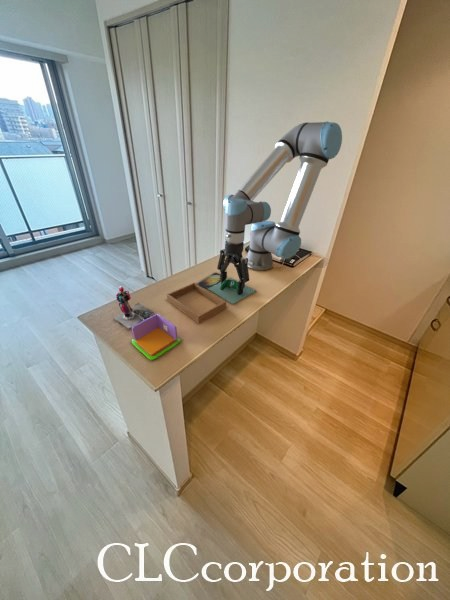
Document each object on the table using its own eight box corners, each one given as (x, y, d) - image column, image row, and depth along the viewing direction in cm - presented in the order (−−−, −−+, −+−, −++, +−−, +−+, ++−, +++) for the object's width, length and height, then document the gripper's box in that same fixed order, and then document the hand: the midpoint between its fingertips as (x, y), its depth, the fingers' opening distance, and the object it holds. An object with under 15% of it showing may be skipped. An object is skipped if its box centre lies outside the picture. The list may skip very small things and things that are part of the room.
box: (194, 288, 108) (194, 282, 106) (226, 307, 96) (226, 301, 94) (167, 300, 99) (166, 294, 97) (198, 323, 87) (198, 317, 86)
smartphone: (195, 284, 110) (215, 272, 120) (195, 285, 110) (215, 273, 120) (207, 289, 107) (226, 276, 117) (207, 290, 107) (226, 277, 117)
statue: (130, 332, 84) (116, 300, 74) (115, 321, 89) (100, 289, 79) (154, 314, 91) (144, 283, 81) (139, 305, 95) (128, 274, 85)
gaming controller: (240, 295, 106) (243, 282, 107) (239, 293, 103) (242, 280, 104) (221, 291, 109) (224, 278, 110) (219, 289, 105) (222, 276, 106)
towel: (230, 278, 116) (230, 277, 116) (256, 291, 107) (256, 290, 107) (207, 289, 107) (207, 288, 107) (233, 304, 98) (233, 303, 98)
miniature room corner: (160, 325, 86) (158, 310, 82) (182, 341, 80) (180, 325, 76) (130, 342, 78) (126, 326, 74) (151, 361, 72) (148, 345, 68)
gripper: (208, 236, 98) (209, 282, 111) (249, 252, 85) (244, 302, 98) (221, 232, 103) (220, 277, 115) (262, 247, 90) (256, 296, 102)
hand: (231, 289), depth 107 cm, fingers closed on gaming controller, 9 cm apart
